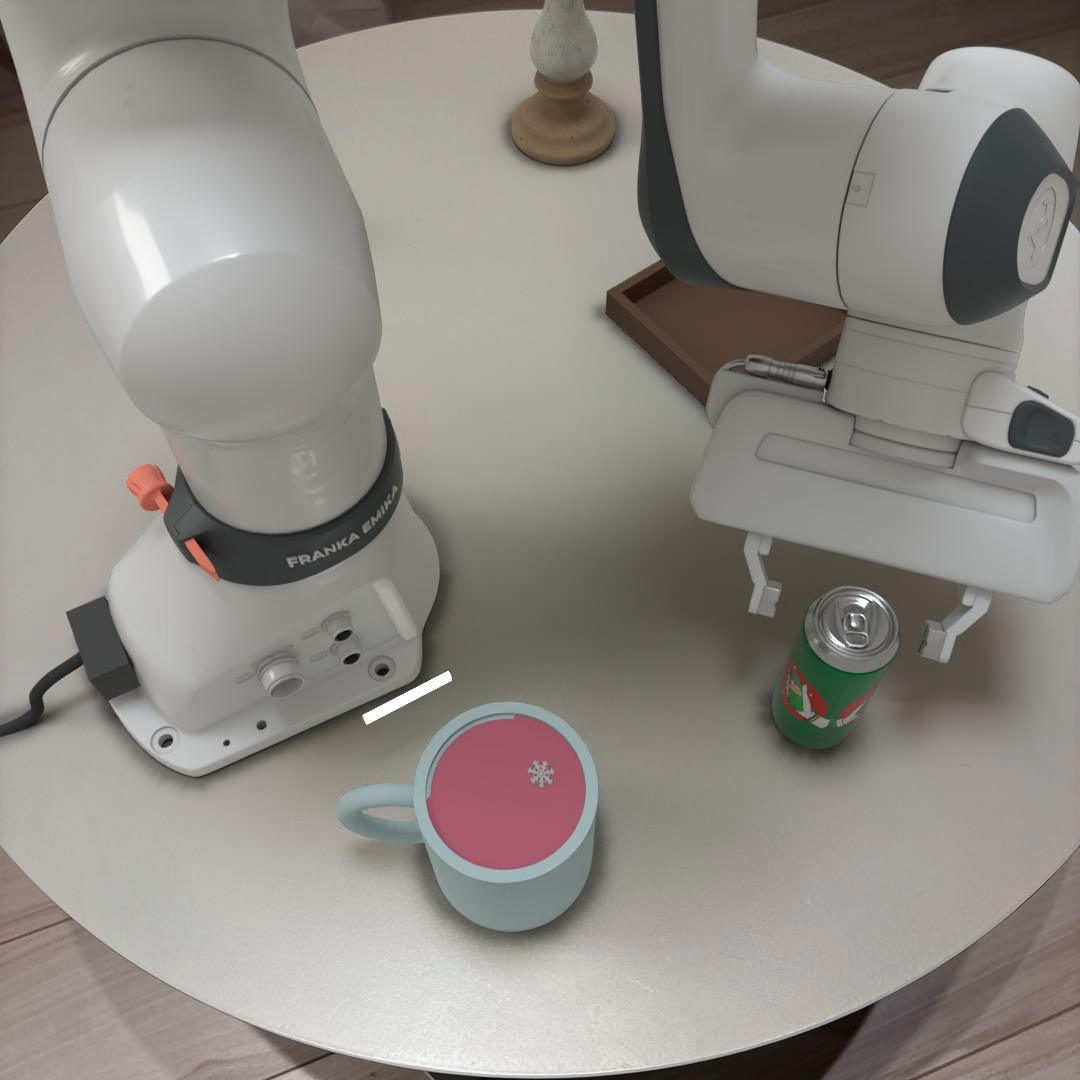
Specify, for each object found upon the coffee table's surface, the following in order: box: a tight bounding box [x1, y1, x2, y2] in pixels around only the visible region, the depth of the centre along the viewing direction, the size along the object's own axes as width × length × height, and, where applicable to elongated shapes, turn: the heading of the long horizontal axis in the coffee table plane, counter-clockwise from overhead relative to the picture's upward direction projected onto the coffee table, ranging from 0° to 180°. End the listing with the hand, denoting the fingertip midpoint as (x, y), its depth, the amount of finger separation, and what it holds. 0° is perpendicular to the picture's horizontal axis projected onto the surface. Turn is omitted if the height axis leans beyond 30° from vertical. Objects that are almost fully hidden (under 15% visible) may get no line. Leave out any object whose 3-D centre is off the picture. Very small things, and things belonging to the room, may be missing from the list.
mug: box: [335, 701, 599, 933], centre depth 61 cm, size 14×9×10 cm
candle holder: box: [510, 0, 616, 166], centre depth 88 cm, size 9×9×20 cm
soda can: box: [771, 585, 901, 750], centre depth 64 cm, size 5×5×12 cm
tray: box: [605, 258, 872, 407], centre depth 85 cm, size 15×14×2 cm
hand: (845, 635), depth 63 cm, fingers open, 8 cm apart
